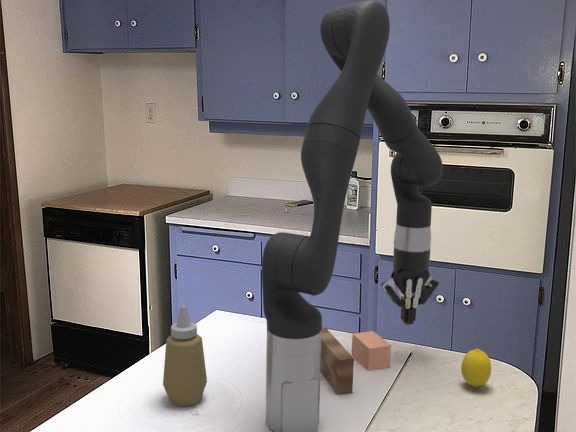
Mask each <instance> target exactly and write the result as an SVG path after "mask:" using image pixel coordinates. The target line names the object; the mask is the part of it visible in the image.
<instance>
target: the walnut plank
mask: <svg viewBox="0 0 576 432" xmlns="http://www.w3.org/2000/svg"><path fill="white" fill-rule="evenodd" d="M354 359H355V357H354V356H352V354H351V353H349V351H348V350H347V349H346V348H345V347H344V346H343V344H341V342H339V340H338V339H337V338H336V337H335V336H334V335H333V333H332V332H330V331H329V329H328V328H327V327H326V326H322V337H321V369H320V374H322V376H323V378H325V380H326V381H327V382H328V384H329V385H330V387H331V388H332V389H333V390H334V392H335V394H336V395H344V394H352V393H353V388H354V387H353V384H354V363H355V362H354V361H355V360H354Z"/></svg>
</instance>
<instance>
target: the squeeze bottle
mask: <svg viewBox="0 0 576 432" xmlns="http://www.w3.org/2000/svg"><path fill="white" fill-rule="evenodd" d="M176 321H177V322H175V323H173V324H172V325H171V326H170V335H169V336H168V337H167V338H166V340H165V352H164V365H163V367H164V368H163V378H162V386H163V388H164V390H165V393H166V396H167V398H168V401H169V402H170V403H171V404H172V405H175V406H179V407H190V406H194V405H196V404H198V403H199V402H200V401H201V400H202V397H203V395H204V392H205V388H206V385H207V383H208V378H207V377H208V376H207V369H206V361H205V359H206V358H205V352H204V346H203V344H204V343H203V337H202V336H201V335H199V334H198V325H197V324H196V323H195V322H192V321H191V319H190V315H189V310H188V306H186V305H181V306H180V307H179V312H178V316H177V320H176Z"/></svg>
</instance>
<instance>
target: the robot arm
mask: <svg viewBox="0 0 576 432" xmlns="http://www.w3.org/2000/svg"><path fill="white" fill-rule="evenodd" d="M389 15H390V14H389V12H388V10H387V8H386V6H385V5H384V4H383V3H382V2H380V1H379V0H361V1H357V2H353V3H348V4H345V5H341V6H338V7H337V6H336V7H333V8H331V9H330V10H328V11H326V13H325V14H323V17H322V19H321V22H320V29H319V31H320V32H319V33H320V38H321V41H322V44H323V46H324V48H325V51H326V52H327V54H328V55H329V57H330V59H331V60H332V61H333V63H334V64H335V65H336V67H337V69H338V70H339V71H340V74H339V75H338V78H337V79H336V80H335V81H334V82H333V84H332V86H331V87H330V88H329V90H328V91H327V92H326V94H325V95H324V96H323V97H322V98H321V100H320V102H318V104H317V105H316V107H315V108H314V109H313V112H312V113H311V115H310V116H309V119H308V122H307V125H306V128H305V129H306V130H305V134H304V138H303V141H302V146H301V150H300V161H301V167H302V170H303V173H304V177H305V179H306V183H307V186H308V188H309V190H310V191H309V192H310V194H311V197H312V201H313V203H312V204H313V220H312V225H311V226H312V227H311V232H310V235H304V234H299V233H298V234H297V233H291V232H285V231H284V232H283V231H282V232H276V233H273V234H272V235H271V236H270V237H269V239H267V242H266V244H265V246H264V250H263V252H262V258H261V281H262V303H263V305H262V306H263V309H262V310H263V314H264V318H265V320H266V354H265V355H266V356H265V357H266V359H265V360H266V362H265V363H266V367H265V368H266V370H265V371H266V375H265V376H266V377H265V383H266V384H265V423H266V425H267V427H268V428H269V429H270V430H271V431H273V432H319V431H318V430H319V429H318V428H319V425H320V406H321V405H320V402H321V401H320V399H321V397H320V396H321V372H320V369H321V337H322V327H323V317H322V313H321V311H320V310H319V309H318V308H317V307H316V306H314V305H313V304H311V303H310V302H308V301H307V300H306V299H305V298H304V297H303V296H302V294H307V295H310V296H311V295H312V296H318V295H321V294H323V293H324V292H325V290H326V289H327V288H328V286H329V284H330V282H331V279H332V276H333V273H334V269H335V265H336V258H337V252H338V244H339V238H340V232H341V226H342V218H343V213H344V207H345V201H346V197H347V193H348V189H349V186H350V180H351V178H352V177H351V176H352V174H353V169H354V165H355V161H356V158H357V154H358V151H359V147H360V146H359V145H360V142H361V137H362V132H363V131H362V130H363V127H364V126H363V125H364V122H365V118H366V114H367V110H368V112H369V114H370V116H371V118H372V120H373V121H374V123H375V126H376V127H377V129H378V132H379V133H380V137H381V138H382V139H383V141H384V143H385V145H386V147H387V148H388V149H389V150H390V151H392V152H394V153H395V155H394V156H393V158H392V161H391V163H390V164H391V165H390V177H391V183H392V187H393V192H394V197H395V200H396V206H397V207H396V223H395V231H394V235H393V236H394V237H393V257H392V259H393V260H392V267H393V268H392V269H393V270H392V273H391V274H390V279H388V280H387V281H386V282H385V281H383V282H381V283H380V287H381V288H382V290H383V291H384V292H385V294H386V295H387V296H388V298H389V299H390V300H391V301H392V302H393V304H394V305H396V306H398V307H399V308H400V320H401V321H402V322H403V324H405V325H406V326H409V325H414V322H416V318H417V317H416V316H417V308H418V306H420V305H421V306H422V305H425V304H426V302H427V301H428V300H429V299H430V297H431V296H432V295H433V293H434V292H435V290H436V289H437V287H438V286H439V281H437V280H436V279H434V278H433V277H431V273H430V271H429V268H430V261H431V250H432V249H431V245H432V229H431V227H432V226H431V224H432V211H433V209H432V208H433V207H432V205H433V204H432V201H431V199H430V198H428V197H427V196H426V195H423V194H422V192H420V189H419V186H420V187H421V186H422V187H432V186H434V185H436V184H437V183H438V182H439V181H440V180H441V177H442V175H443V169H444V168H443V162H442V158H441V156H440V153H439V151H437V149H436V148H435V146H434V145H433V144H432V143H431V141H430V140H429V138H427V137H426V135H425V134H424V133H423V132H422V131H421V130H420V129H419V127H418V123H417V121H416V119H415V117H414V114H413V112H412V110H411V108H410V106H409V104H408V102H407V101H406V99H405V98H404V97H403V96H402V95H401V94H400V93H399V92H398V91H397V89H395V88H394V87H393V86H392V85H390V84H389V83H388V82H387V81H386V80H384V79H383V78H382V77H381V76H380V75H379V74H378V73H379V70H380V67H381V64H382V61H383V59H384V55H385V53H386V51H387V46H388V43H389V37H390V32H391V31H390V27H391V23H390V16H389ZM396 288H397V289H398V294H399V296H398V294H397V293H396V292H395V291H396ZM300 293H301V294H300Z"/></svg>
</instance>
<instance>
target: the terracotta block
mask: <svg viewBox="0 0 576 432" xmlns="http://www.w3.org/2000/svg"><path fill="white" fill-rule="evenodd" d="M351 337H352V338H351V340H352V341H351V356H352V357H353V358H354V359H355V360H356V361H358V363H360V364H361V365H362V366H363V367H364V368H365V369H366V370H367V371H375V370H382V369H387V368H390V367H391V355H392V354H391V352H392V345H391V344H390V343H388V341H387V340H385V339H383V337H381V336H380V335H379V334H378V333H376V332H375V331H374V330H370V331H364V332H363V331H362V332H356V333H355V332H354V333H352V336H351Z"/></svg>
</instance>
